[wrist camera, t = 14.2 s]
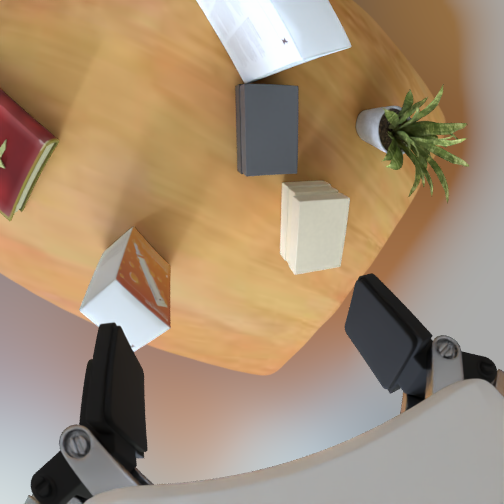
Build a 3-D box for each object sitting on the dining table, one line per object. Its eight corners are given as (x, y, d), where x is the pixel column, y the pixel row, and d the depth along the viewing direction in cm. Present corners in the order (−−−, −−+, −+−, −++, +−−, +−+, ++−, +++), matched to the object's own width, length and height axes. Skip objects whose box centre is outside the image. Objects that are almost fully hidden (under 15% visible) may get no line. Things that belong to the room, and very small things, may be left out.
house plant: (370, 194, 40) (444, 239, 27) (310, 144, 34) (391, 172, 20) (410, 129, 36) (490, 151, 22) (359, 71, 30) (449, 68, 16)
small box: (171, 264, 38) (172, 329, 26) (140, 288, 38) (132, 354, 27) (133, 223, 33) (115, 278, 22) (102, 251, 34) (77, 311, 23)
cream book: (292, 195, 32) (299, 201, 30) (341, 192, 34) (350, 198, 32) (288, 266, 37) (294, 274, 35) (333, 259, 39) (340, 266, 37)
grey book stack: (235, 86, 28) (243, 81, 25) (285, 87, 30) (299, 84, 26) (237, 170, 34) (245, 178, 30) (284, 167, 35) (298, 175, 31)
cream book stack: (281, 182, 36) (294, 191, 32) (323, 180, 37) (339, 188, 33) (279, 253, 41) (290, 268, 38) (317, 248, 43) (330, 261, 39)
